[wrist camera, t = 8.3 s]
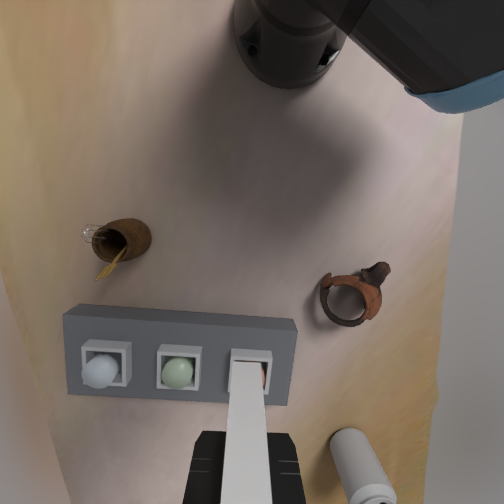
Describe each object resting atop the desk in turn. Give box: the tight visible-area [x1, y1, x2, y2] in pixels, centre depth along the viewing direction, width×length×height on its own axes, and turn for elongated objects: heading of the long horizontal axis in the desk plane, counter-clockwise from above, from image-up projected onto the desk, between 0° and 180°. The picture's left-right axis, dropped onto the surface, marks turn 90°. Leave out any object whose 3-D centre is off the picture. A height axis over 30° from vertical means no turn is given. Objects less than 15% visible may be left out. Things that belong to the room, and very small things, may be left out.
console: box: [63, 304, 298, 406], centre depth 41 cm, size 14×36×6 cm, turn 85°
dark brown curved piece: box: [320, 262, 391, 327], centre depth 40 cm, size 12×10×8 cm
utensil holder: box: [81, 218, 151, 281], centre depth 34 cm, size 6×6×12 cm
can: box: [330, 428, 397, 504], centre depth 43 cm, size 8×8×12 cm
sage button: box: [161, 356, 194, 389], centre depth 38 cm, size 4×4×2 cm
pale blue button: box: [81, 353, 120, 389], centre depth 37 cm, size 4×4×2 cm
